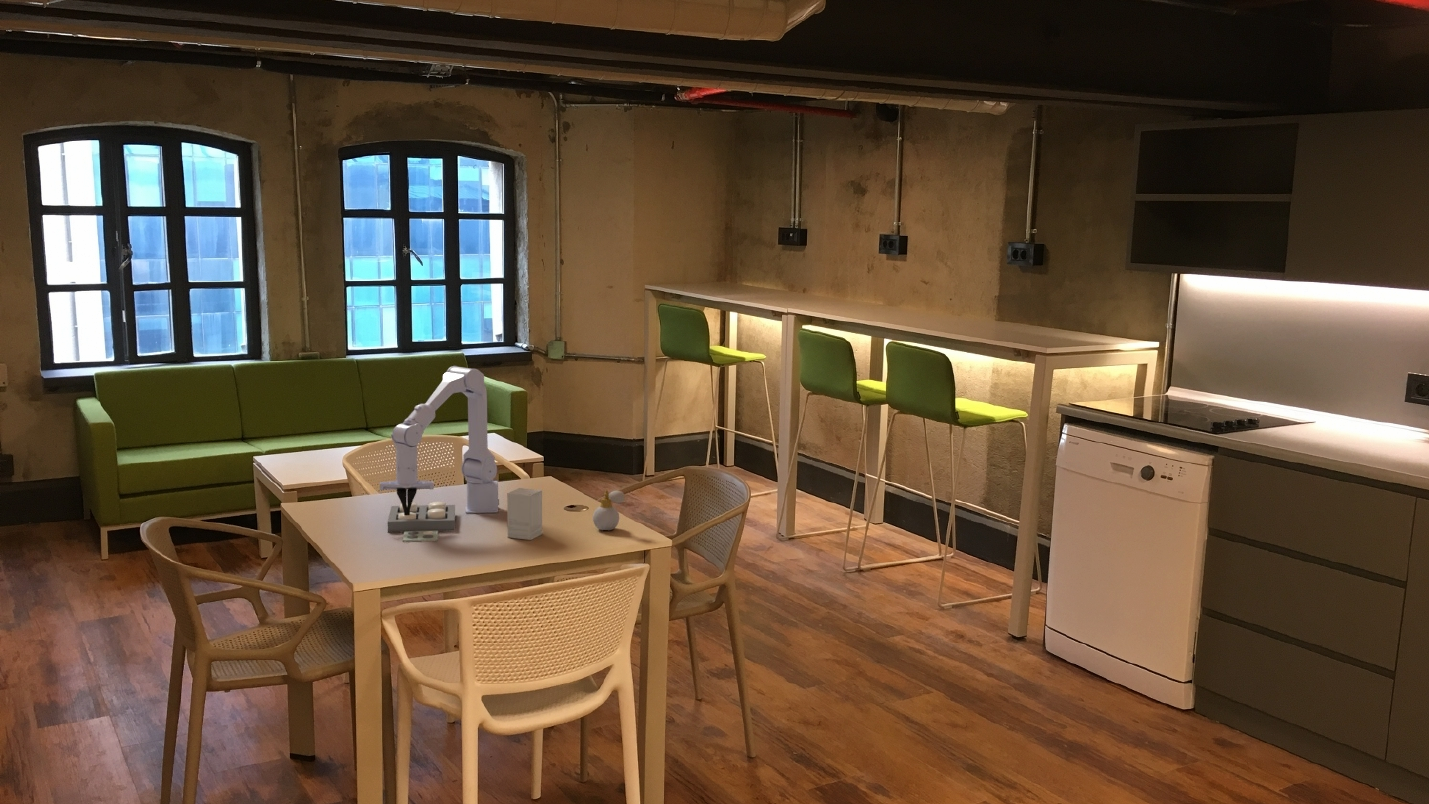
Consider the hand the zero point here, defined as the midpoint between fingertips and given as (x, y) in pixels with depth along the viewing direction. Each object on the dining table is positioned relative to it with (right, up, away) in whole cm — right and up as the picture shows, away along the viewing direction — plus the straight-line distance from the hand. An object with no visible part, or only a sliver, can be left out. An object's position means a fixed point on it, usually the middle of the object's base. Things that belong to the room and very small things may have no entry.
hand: (407, 514), depth 329 cm
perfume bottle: (+56, -5, +5) cm, 57 cm away
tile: (+6, -5, -9) cm, 12 cm away
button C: (-2, 0, +8) cm, 8 cm away
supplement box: (+34, -6, -4) cm, 34 cm away
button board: (+3, -3, +5) cm, 7 cm away
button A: (0, -3, 0) cm, 3 cm away
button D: (+6, 0, +10) cm, 12 cm away
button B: (+8, -2, +2) cm, 8 cm away
